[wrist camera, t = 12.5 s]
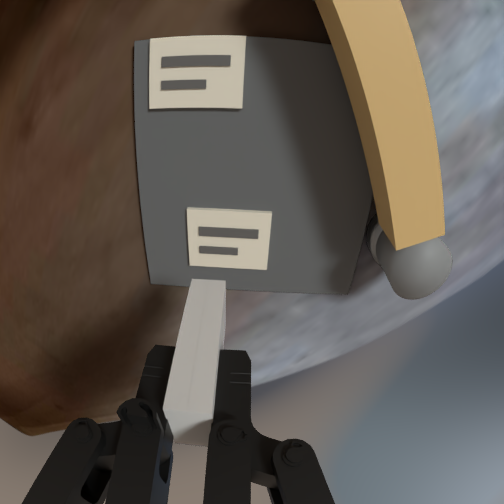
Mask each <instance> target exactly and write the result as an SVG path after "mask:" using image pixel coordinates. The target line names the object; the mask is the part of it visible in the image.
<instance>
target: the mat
mask: <svg viewBox="0 0 504 504" xmlns="http://www.w3.org/2000/svg"><path fill="white" fill-rule="evenodd" d="M149 61H150V39H149V40H140V41H135V44H134V110H135V136H136V154H137V169H138V181H139V193H140V203H141V213H142V222H143V230H144V238H145V246H146V253H147V260H148V267H149V274H150V280H151V284H161V285H174V286H187V287H190V285H191V281H192V279H206V280H224V281H226V289H233V290H251V291H270V292H292V293H318V294H348V293H349V290H350V286H351V282H352V279H353V275H354V272H355V268H356V264H357V260H358V257H359V253H360V249H361V245H362V241H363V237H364V233H365V228H366V224H367V220H368V216H369V211H370V207H371V202H372V197H373V190H372V185H371V180H370V176H369V171H368V167H367V162H366V158H365V154H364V150H363V146H362V142H361V138H360V134H359V130H358V126H357V123H356V119H355V115H354V112H353V108H352V105H351V101H350V98H349V95H348V91H347V88H346V85H345V82H344V79H343V76H342V73H341V69H340V66H339V63H338V61H337V58H336V55H335V52H334V49H333V46H332V45H330V44H323V43H316V42H308V41H300V40H290V39H280V38H266V37H247V36H246V48H245V66H244V85H243V104H242V109H241V108H156V109H149ZM188 207H194V208H217V209H238V210H256V211H272V219H271V230H270V241H269V252H268V262H267V270H258V269H240V268H222V267H205V266H190V262H189V245H188V226H187V208H188Z"/></svg>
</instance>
